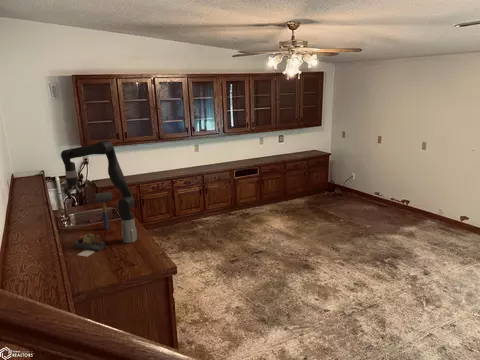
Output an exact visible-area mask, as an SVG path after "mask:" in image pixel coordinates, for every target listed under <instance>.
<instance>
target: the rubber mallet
mask: <svg viewBox="0 0 480 360" xmlns="http://www.w3.org/2000/svg"><path fill="white" fill-rule="evenodd" d="M112 201H113V193H112V192H111V191H107V192H106V191H105V192H99V193H95V194H94V202H95V203H96V204H98V203H99V204H100V203H101V204H102V220H103V229H104V230H109V229H110V225H109V215H108V211H107V202H112Z"/></svg>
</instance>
